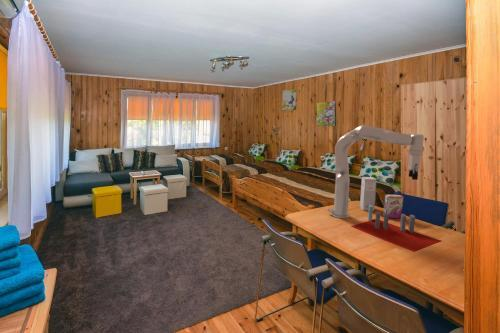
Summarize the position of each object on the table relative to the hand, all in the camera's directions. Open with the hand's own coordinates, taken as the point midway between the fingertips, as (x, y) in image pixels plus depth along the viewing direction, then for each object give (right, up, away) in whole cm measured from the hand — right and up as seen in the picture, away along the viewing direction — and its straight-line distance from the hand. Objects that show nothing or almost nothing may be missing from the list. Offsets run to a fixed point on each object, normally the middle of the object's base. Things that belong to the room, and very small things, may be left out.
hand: (412, 178), depth 192 cm
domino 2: (-26, -32, -4) cm, 42 cm away
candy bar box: (-6, -29, +15) cm, 34 cm away
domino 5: (-7, -33, -10) cm, 36 cm away
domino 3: (-21, -33, -6) cm, 39 cm away
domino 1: (-25, -30, +11) cm, 40 cm away
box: (-17, -26, +35) cm, 47 cm away
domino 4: (-12, -33, -9) cm, 36 cm away
